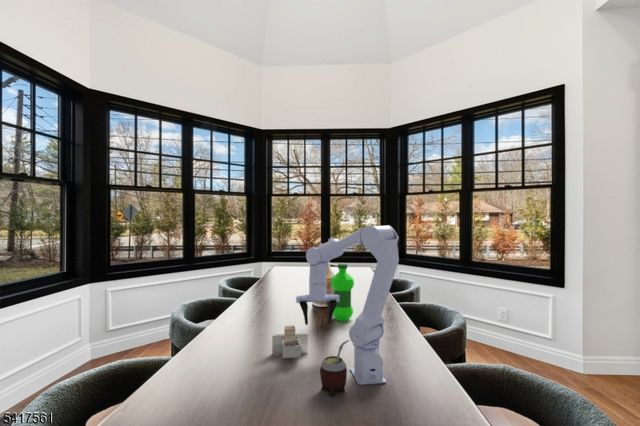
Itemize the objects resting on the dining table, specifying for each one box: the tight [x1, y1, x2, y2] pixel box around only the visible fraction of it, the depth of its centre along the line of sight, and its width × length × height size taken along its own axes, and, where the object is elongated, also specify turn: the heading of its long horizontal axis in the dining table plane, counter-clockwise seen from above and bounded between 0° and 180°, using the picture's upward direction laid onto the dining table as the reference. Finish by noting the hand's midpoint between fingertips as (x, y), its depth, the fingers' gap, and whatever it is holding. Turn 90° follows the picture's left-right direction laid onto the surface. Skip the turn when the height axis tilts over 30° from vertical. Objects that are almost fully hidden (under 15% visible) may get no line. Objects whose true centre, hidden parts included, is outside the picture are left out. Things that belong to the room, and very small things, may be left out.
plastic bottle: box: [330, 263, 355, 322], centre depth 145 cm, size 10×10×25 cm
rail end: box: [283, 324, 296, 346], centre depth 103 cm, size 3×3×8 cm
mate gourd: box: [319, 339, 350, 398], centre depth 85 cm, size 8×8×15 cm
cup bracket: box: [271, 332, 309, 359], centre depth 104 cm, size 8×12×6 cm
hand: (317, 323), depth 107 cm, fingers open, 7 cm apart
